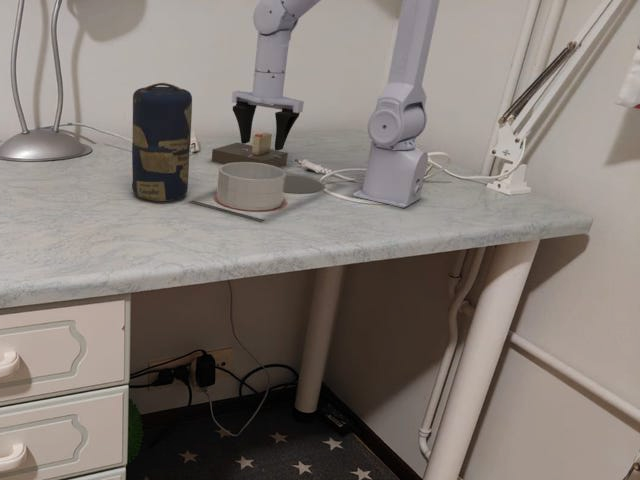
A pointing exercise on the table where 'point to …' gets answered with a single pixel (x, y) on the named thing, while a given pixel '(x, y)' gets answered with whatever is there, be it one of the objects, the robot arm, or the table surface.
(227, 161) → the dial box
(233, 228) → the table surface
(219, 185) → the pot
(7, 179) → the table surface
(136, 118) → the canister
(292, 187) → the hob
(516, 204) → the table surface
